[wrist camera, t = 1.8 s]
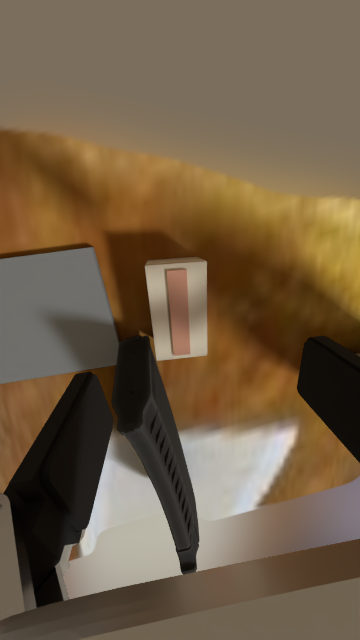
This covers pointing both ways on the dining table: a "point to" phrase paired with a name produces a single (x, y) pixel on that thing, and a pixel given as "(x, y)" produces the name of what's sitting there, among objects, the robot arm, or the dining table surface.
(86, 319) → the mat
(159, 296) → the card box
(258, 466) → the dining table surface
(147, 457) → the magazine
